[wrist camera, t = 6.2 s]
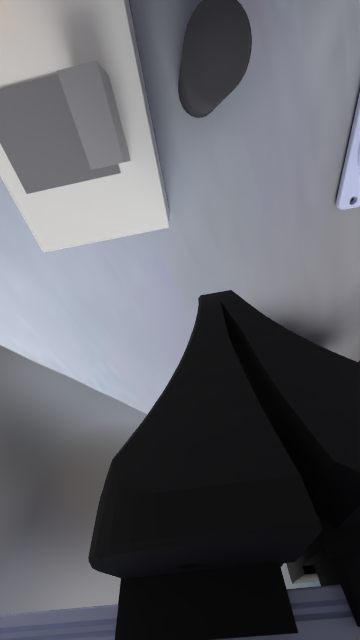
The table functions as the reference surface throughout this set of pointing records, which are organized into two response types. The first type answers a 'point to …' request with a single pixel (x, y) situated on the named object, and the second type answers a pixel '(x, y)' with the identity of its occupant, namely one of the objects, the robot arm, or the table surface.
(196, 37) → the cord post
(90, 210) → the breaker panel
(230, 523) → the robot arm
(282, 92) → the table surface
